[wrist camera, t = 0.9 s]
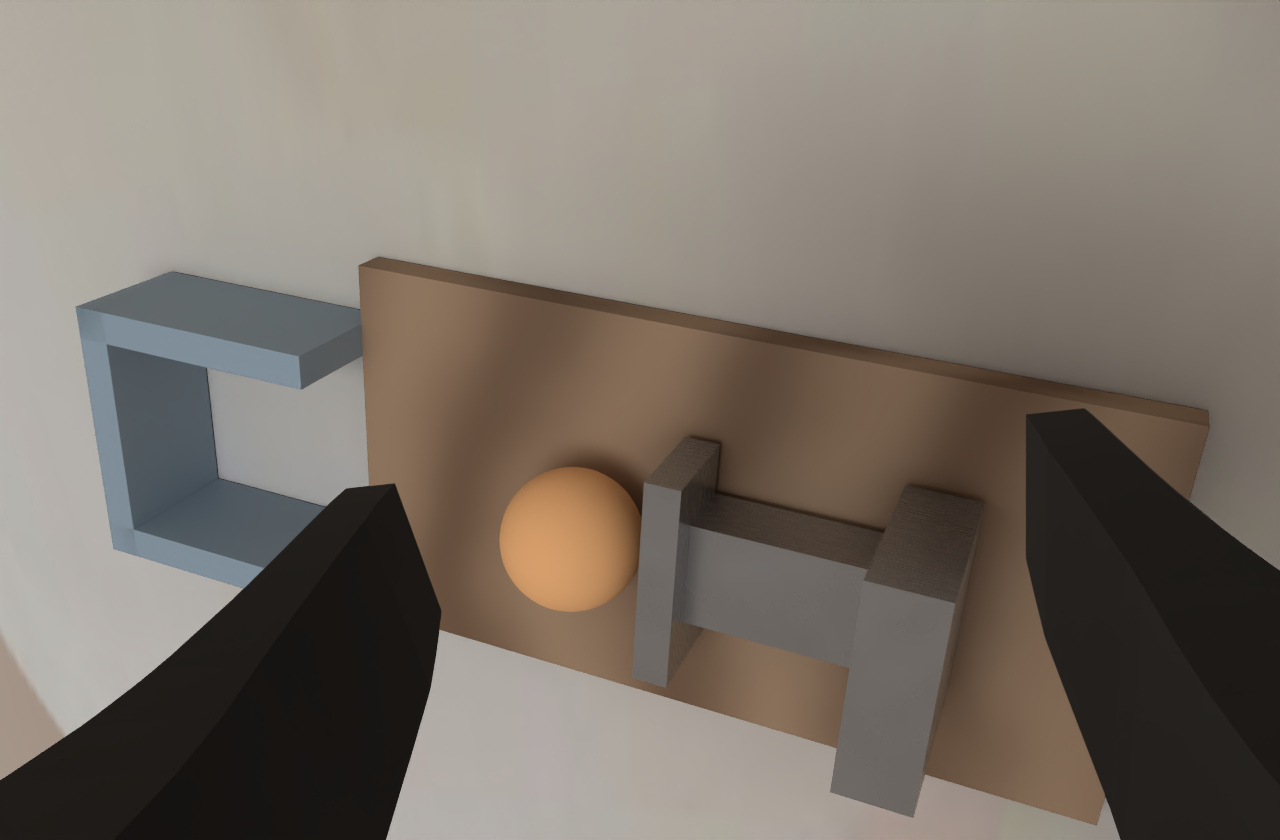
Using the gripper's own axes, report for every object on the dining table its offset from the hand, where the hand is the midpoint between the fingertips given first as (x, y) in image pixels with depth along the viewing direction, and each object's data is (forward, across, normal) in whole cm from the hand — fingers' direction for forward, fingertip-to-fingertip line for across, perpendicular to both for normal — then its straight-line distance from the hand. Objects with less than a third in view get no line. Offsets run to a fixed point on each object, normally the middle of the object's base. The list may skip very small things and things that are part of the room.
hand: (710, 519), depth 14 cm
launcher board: (+16, +2, +13) cm, 21 cm away
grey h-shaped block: (+14, -1, +13) cm, 19 cm away
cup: (+21, +16, +10) cm, 28 cm away
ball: (+14, +6, +12) cm, 19 cm away
